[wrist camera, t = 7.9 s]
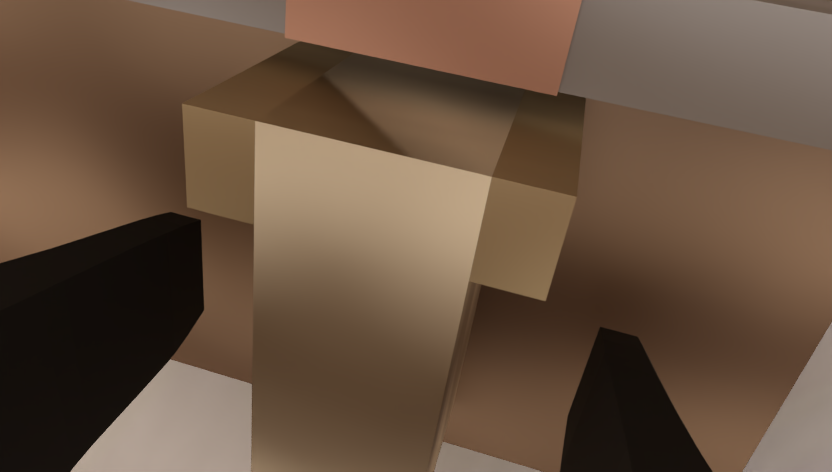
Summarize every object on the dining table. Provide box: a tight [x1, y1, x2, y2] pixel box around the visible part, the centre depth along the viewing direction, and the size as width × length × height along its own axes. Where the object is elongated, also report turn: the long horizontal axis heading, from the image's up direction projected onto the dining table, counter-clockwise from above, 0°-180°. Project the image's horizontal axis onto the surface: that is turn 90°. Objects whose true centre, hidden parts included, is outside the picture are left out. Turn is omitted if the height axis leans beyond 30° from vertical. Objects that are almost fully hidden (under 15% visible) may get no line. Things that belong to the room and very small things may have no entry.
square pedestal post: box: [182, 41, 586, 472], centre depth 12 cm, size 8×5×4 cm, turn 172°
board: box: [0, 0, 832, 472], centre depth 13 cm, size 12×28×4 cm, turn 82°
